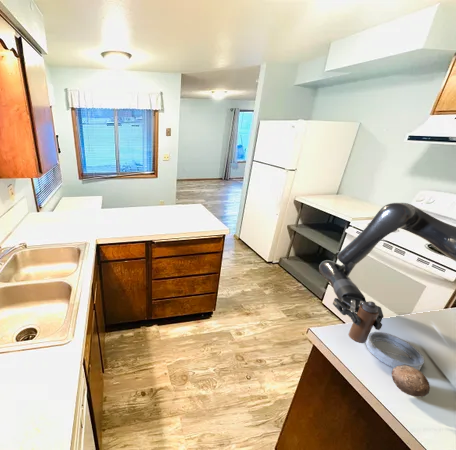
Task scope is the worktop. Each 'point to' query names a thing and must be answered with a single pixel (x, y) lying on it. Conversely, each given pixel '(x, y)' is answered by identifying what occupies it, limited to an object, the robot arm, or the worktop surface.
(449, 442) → the worktop surface
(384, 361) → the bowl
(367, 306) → the pepper mill
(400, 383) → the brown oval lump
